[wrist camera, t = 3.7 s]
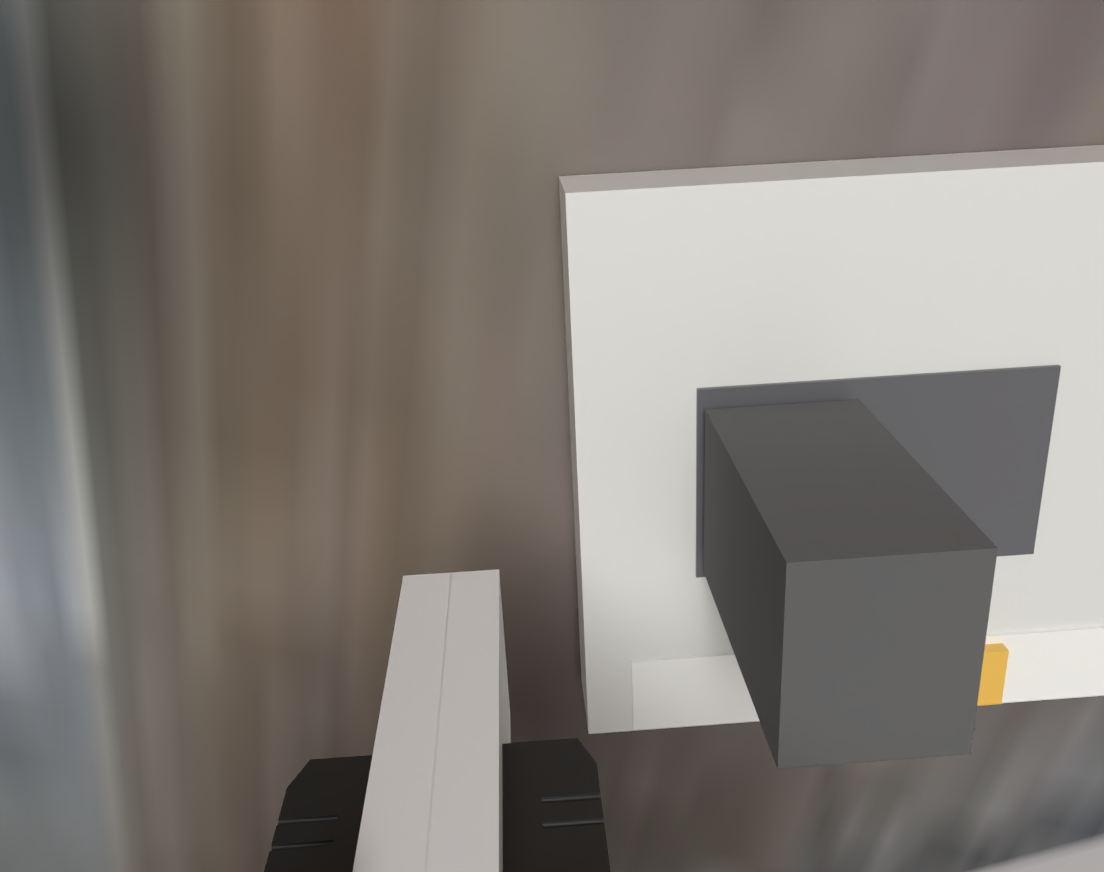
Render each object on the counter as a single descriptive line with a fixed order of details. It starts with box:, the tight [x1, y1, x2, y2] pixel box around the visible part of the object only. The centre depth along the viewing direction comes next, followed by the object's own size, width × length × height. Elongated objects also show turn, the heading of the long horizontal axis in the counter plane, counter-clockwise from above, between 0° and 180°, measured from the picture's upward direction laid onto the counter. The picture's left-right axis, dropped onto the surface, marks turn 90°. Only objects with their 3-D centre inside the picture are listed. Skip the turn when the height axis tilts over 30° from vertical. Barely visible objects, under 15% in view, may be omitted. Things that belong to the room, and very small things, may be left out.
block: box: [704, 399, 998, 769], centre depth 18 cm, size 3×4×6 cm
